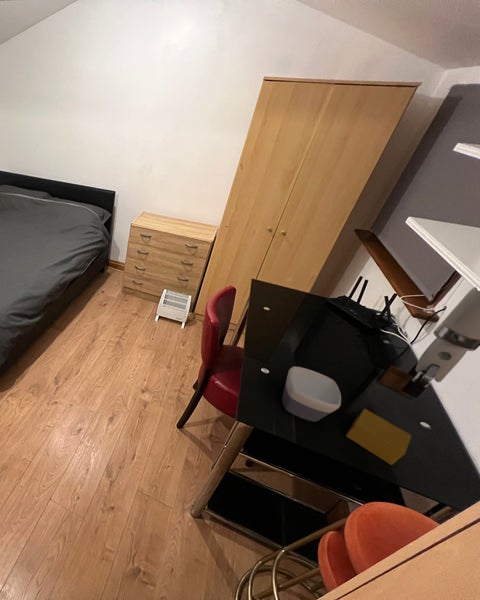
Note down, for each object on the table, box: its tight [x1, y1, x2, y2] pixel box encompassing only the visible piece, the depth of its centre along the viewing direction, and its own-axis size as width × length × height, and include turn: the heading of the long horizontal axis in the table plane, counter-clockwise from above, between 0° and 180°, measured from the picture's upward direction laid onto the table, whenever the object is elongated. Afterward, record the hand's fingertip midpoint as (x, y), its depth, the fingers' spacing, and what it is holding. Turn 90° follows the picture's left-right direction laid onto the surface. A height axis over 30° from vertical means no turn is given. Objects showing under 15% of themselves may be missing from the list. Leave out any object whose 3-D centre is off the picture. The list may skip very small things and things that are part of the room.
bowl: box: [281, 365, 342, 423], centre depth 108 cm, size 15×15×11 cm
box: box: [345, 407, 413, 466], centre depth 100 cm, size 12×10×6 cm
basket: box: [379, 365, 414, 398], centre depth 122 cm, size 9×7×6 cm
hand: (411, 385), depth 85 cm, fingers open, 9 cm apart
